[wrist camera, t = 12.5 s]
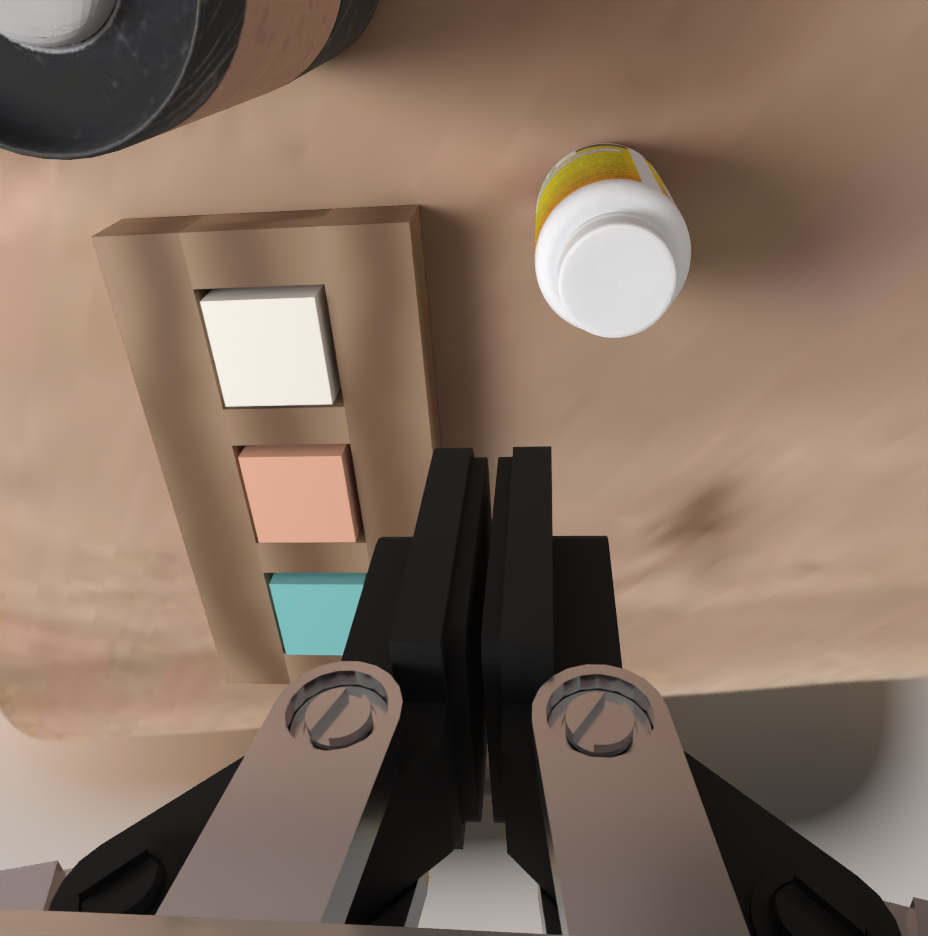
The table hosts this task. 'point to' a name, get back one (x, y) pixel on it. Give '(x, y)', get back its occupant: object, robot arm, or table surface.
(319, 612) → the teal button
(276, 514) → the terracotta button
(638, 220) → the supplement bottle
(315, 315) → the ivory button
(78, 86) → the travel mug
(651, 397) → the table surface
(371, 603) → the robot arm
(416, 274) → the console
